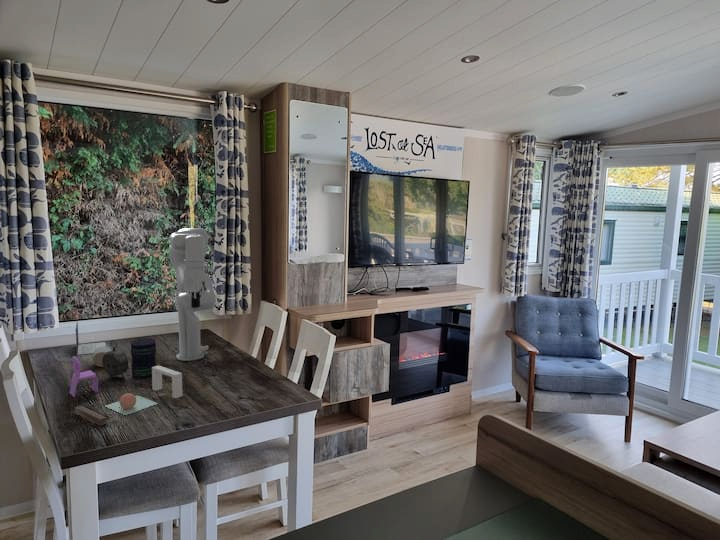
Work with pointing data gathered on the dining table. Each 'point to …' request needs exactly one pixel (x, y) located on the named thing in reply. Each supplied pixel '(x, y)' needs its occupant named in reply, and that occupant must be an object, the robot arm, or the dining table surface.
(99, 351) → the ceramic mug
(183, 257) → the robot arm
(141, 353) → the storage jar
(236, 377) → the dining table surface
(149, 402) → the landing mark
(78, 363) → the toy chair
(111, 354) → the alarm clock
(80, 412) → the brown wooden bar
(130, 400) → the ball
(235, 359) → the dining table surface
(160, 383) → the bridge
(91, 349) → the laptop
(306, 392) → the dining table surface
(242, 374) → the dining table surface
